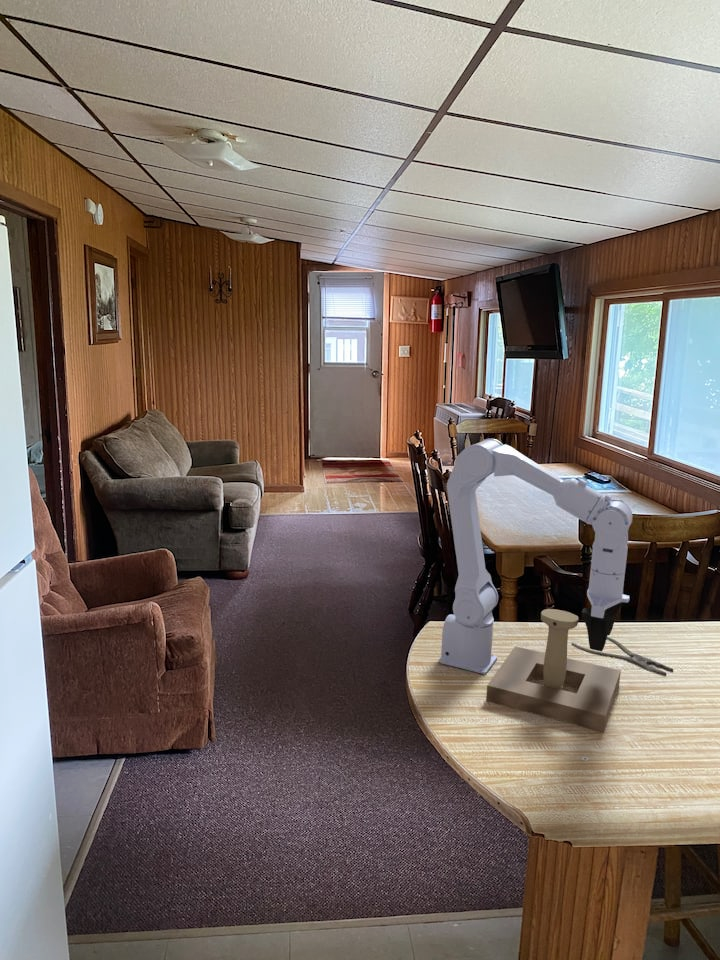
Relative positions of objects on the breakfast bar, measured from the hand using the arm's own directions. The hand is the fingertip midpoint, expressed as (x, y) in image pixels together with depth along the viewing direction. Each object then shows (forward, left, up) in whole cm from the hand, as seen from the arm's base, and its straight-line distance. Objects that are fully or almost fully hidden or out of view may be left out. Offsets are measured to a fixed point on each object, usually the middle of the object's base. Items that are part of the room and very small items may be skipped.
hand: (600, 641), depth 127 cm
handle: (-7, -4, -10) cm, 13 cm away
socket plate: (-6, -4, -10) cm, 13 cm away
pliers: (+3, +20, -11) cm, 23 cm away
